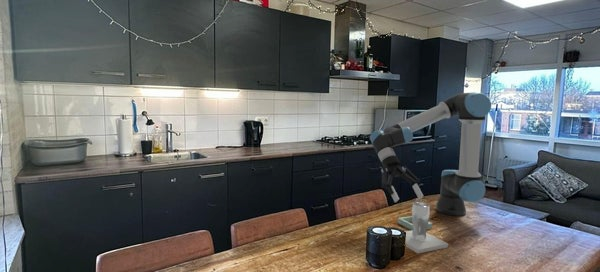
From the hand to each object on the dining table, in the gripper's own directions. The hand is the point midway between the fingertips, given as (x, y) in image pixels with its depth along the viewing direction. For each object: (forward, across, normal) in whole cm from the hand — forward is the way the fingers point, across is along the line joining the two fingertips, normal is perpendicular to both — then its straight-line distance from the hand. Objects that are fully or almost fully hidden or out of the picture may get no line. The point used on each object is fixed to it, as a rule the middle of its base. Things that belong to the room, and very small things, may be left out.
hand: (409, 199), depth 138 cm
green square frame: (+6, -12, -18) cm, 22 cm away
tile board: (+16, 0, -7) cm, 18 cm away
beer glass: (+15, 0, -6) cm, 17 cm away
